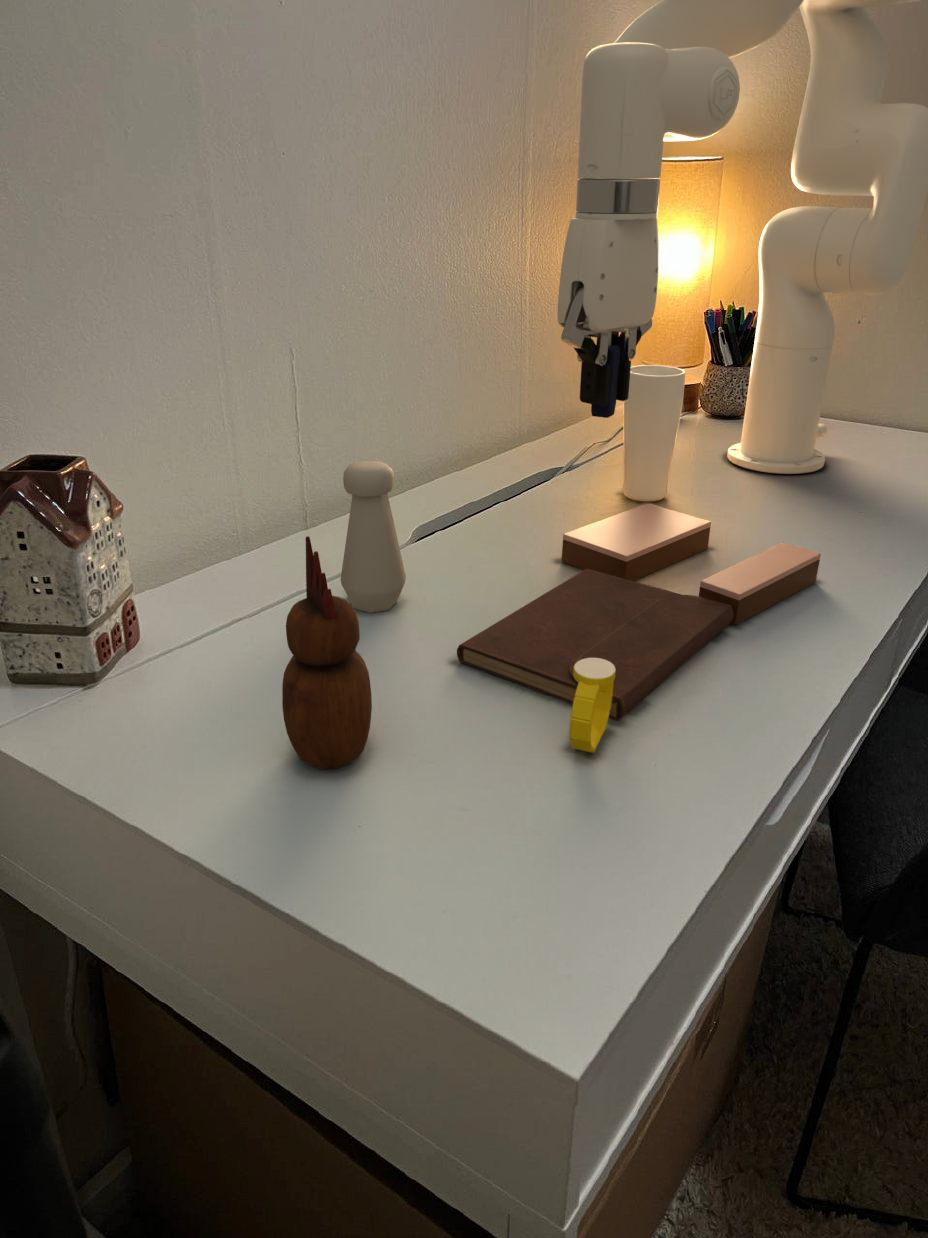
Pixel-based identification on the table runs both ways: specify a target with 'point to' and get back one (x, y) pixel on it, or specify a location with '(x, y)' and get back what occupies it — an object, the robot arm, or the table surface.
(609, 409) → the eraser
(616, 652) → the notebook
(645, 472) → the drinking glass
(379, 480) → the salt shaker
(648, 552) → the brown and tan block
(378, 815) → the table surface
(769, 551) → the brown long rectangular block
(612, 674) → the watch
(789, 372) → the robot arm
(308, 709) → the wooden figurine
